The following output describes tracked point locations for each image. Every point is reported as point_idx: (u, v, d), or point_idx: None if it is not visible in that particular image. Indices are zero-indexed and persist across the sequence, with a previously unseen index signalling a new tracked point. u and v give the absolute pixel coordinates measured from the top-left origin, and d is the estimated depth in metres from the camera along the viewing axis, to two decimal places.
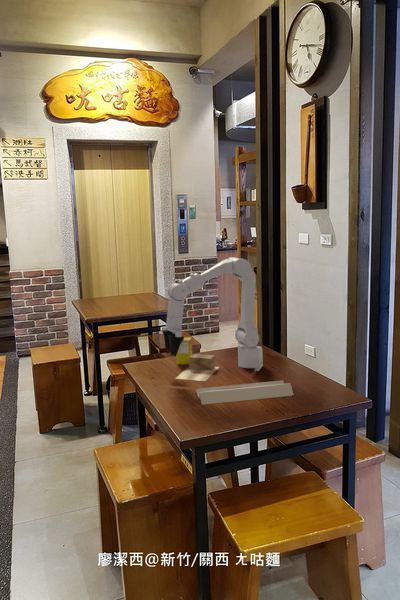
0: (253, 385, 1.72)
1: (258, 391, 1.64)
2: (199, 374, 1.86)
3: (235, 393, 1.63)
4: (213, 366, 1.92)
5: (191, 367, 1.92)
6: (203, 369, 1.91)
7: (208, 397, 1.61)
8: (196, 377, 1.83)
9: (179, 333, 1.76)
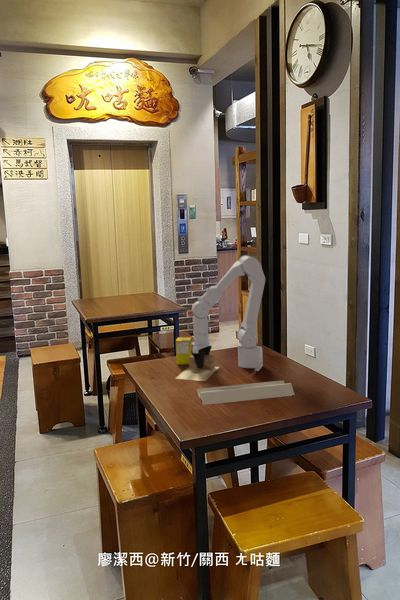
0: (254, 385, 1.72)
1: (259, 391, 1.64)
2: (199, 374, 1.86)
3: (236, 393, 1.63)
4: (213, 366, 1.92)
5: (191, 367, 1.92)
6: (203, 369, 1.91)
7: (209, 397, 1.61)
8: (196, 377, 1.83)
9: (195, 349, 1.85)
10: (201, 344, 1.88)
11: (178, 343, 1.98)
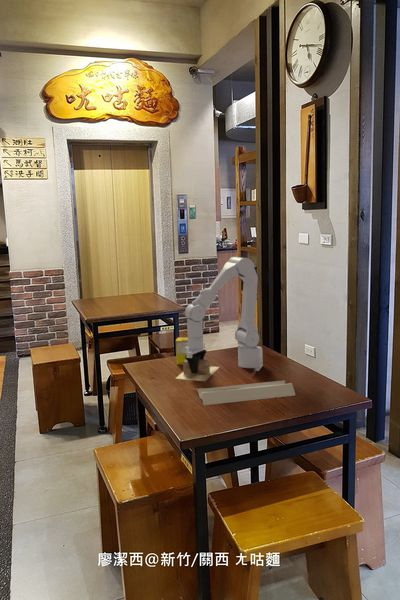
0: (254, 385, 1.72)
1: (260, 391, 1.64)
2: None
3: (237, 393, 1.63)
4: (208, 371, 1.86)
5: (185, 372, 1.86)
6: (197, 374, 1.85)
7: (210, 398, 1.61)
8: (196, 377, 1.83)
9: (189, 354, 1.79)
10: (195, 348, 1.83)
11: (178, 343, 1.98)
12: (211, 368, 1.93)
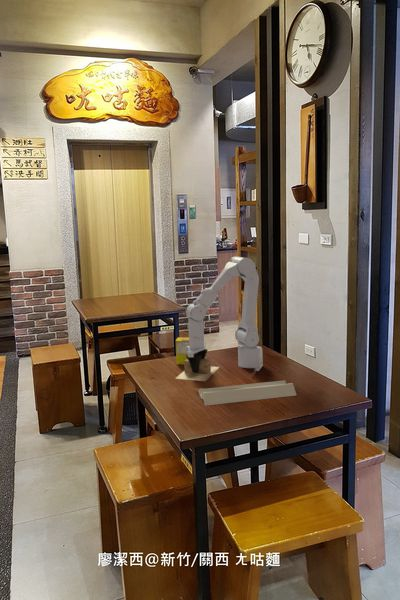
0: (255, 385, 1.72)
1: (261, 391, 1.64)
2: None
3: (238, 393, 1.63)
4: (209, 370, 1.87)
5: (186, 371, 1.87)
6: (198, 373, 1.86)
7: (211, 398, 1.61)
8: (196, 377, 1.83)
9: (190, 353, 1.80)
10: (196, 348, 1.84)
11: (178, 343, 1.98)
12: (211, 368, 1.93)
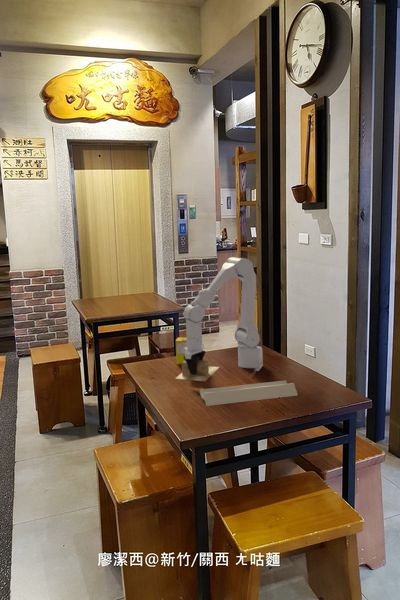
0: (256, 385, 1.72)
1: (262, 391, 1.64)
2: None
3: (239, 393, 1.62)
4: (207, 372, 1.85)
5: (184, 373, 1.85)
6: (196, 375, 1.84)
7: (212, 398, 1.60)
8: (196, 377, 1.83)
9: (188, 355, 1.78)
10: (194, 349, 1.82)
11: (178, 343, 1.98)
12: (211, 368, 1.93)
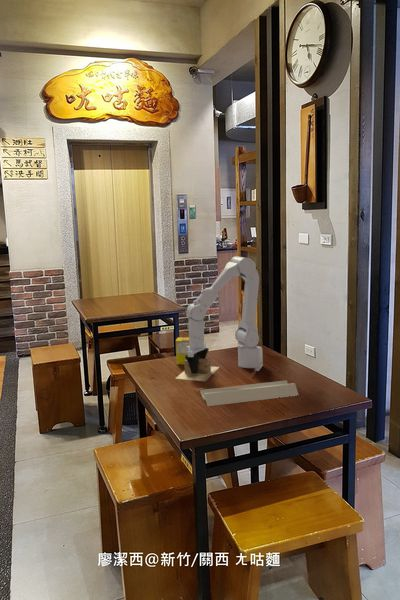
0: (257, 385, 1.72)
1: (263, 391, 1.64)
2: None
3: (240, 394, 1.62)
4: (209, 370, 1.87)
5: (186, 371, 1.87)
6: (198, 373, 1.86)
7: (214, 398, 1.60)
8: (196, 377, 1.83)
9: (190, 353, 1.80)
10: (196, 347, 1.84)
11: (178, 343, 1.98)
12: (211, 368, 1.93)
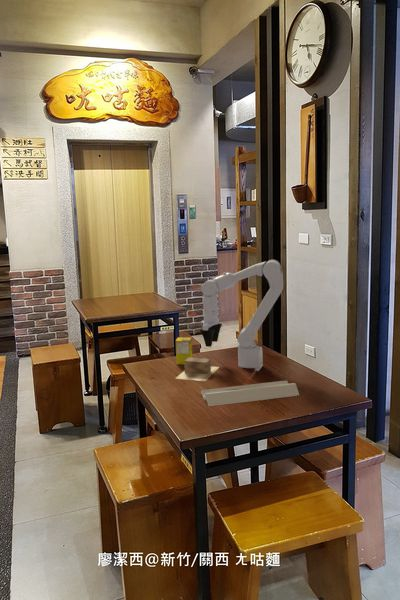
0: (258, 386, 1.72)
1: (264, 392, 1.64)
2: None
3: (241, 394, 1.62)
4: (209, 370, 1.87)
5: (186, 371, 1.87)
6: (198, 373, 1.86)
7: (214, 399, 1.60)
8: (196, 377, 1.83)
9: (205, 327, 1.89)
10: (211, 322, 1.92)
11: (178, 343, 1.98)
12: (211, 368, 1.93)
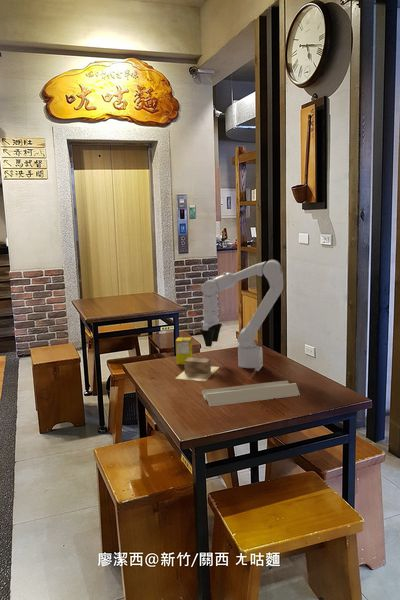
0: (258, 386, 1.71)
1: (265, 392, 1.64)
2: None
3: (242, 394, 1.62)
4: (209, 370, 1.87)
5: (186, 371, 1.87)
6: (198, 373, 1.86)
7: (215, 399, 1.60)
8: (196, 377, 1.83)
9: (205, 327, 1.89)
10: (211, 322, 1.92)
11: (178, 343, 1.98)
12: (211, 368, 1.93)
